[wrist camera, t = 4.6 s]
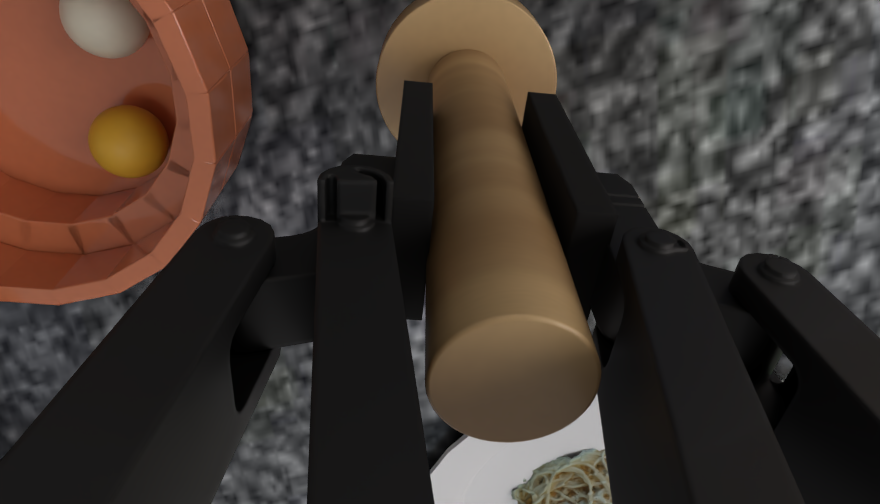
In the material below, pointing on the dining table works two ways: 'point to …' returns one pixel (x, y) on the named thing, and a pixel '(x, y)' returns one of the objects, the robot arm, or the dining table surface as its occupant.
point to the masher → (490, 225)
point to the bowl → (74, 168)
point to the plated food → (527, 468)
